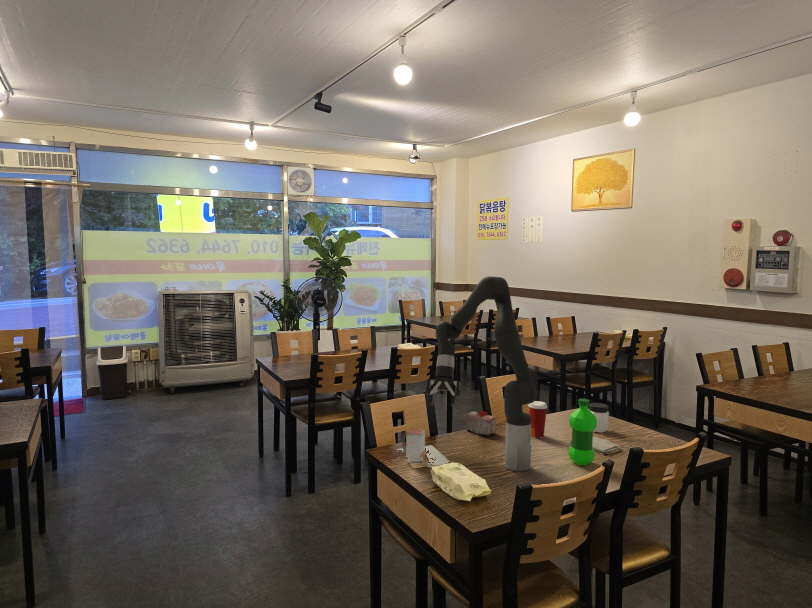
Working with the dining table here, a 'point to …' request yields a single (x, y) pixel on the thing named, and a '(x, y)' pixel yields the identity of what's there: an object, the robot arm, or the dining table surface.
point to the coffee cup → (537, 418)
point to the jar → (600, 416)
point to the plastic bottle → (582, 433)
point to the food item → (481, 423)
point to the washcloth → (603, 445)
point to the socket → (415, 443)
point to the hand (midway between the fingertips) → (442, 405)
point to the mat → (434, 453)
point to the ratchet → (413, 458)
